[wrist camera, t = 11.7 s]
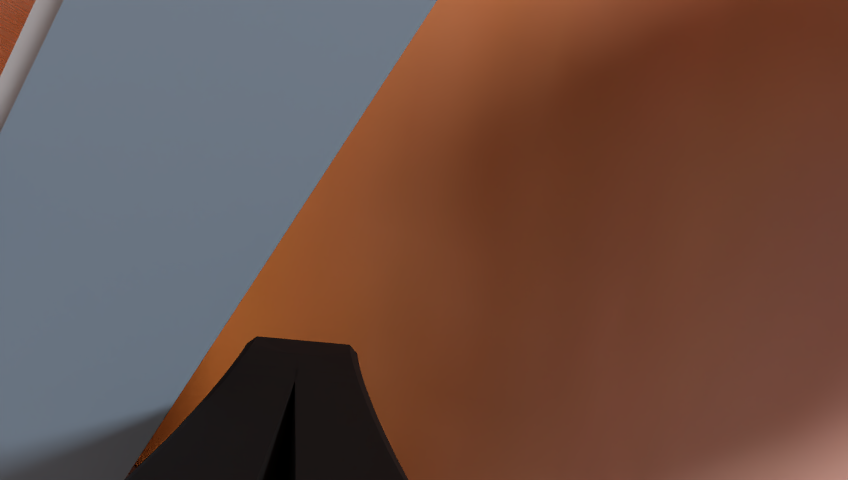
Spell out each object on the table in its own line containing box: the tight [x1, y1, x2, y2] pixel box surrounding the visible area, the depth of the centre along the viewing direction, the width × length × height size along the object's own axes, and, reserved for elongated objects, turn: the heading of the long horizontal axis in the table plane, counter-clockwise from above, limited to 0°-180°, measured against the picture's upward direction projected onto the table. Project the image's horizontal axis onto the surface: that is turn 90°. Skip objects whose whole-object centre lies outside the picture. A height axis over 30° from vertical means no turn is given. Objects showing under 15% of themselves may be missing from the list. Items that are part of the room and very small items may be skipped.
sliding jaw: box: [0, 0, 437, 480], centre depth 10 cm, size 3×10×6 cm, turn 146°
